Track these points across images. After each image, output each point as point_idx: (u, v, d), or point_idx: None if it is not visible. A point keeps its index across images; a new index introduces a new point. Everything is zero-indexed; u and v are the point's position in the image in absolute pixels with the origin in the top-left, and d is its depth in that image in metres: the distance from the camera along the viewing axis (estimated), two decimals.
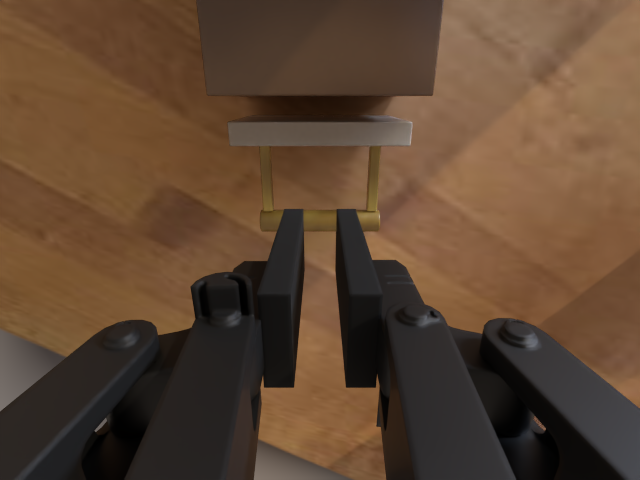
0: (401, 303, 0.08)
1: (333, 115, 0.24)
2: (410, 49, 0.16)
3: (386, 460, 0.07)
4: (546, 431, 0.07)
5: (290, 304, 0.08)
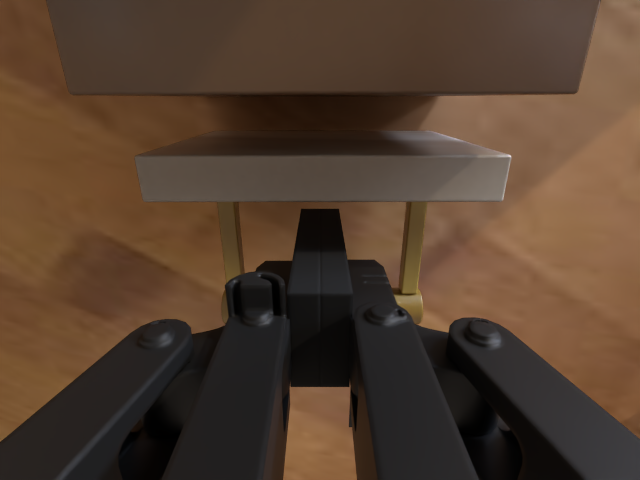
0: (369, 303, 0.08)
1: (343, 131, 0.15)
2: None
3: (356, 461, 0.07)
4: None
5: (319, 303, 0.08)
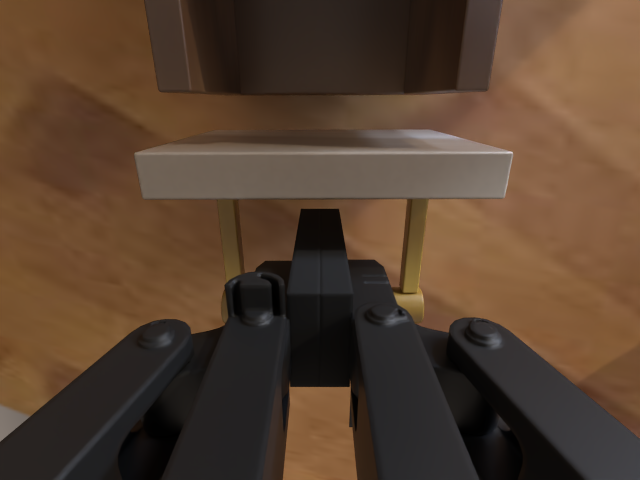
0: (369, 303, 0.08)
1: (343, 130, 0.15)
2: None
3: (357, 461, 0.07)
4: None
5: (319, 303, 0.08)
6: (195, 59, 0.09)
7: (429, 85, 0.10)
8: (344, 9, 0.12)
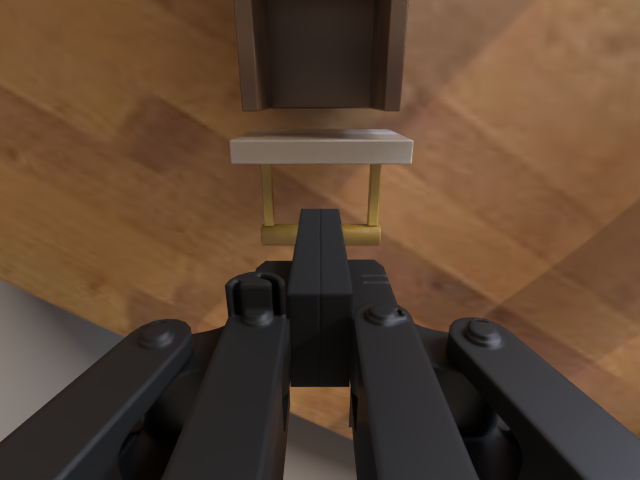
0: (369, 303, 0.08)
1: (334, 129, 0.24)
2: None
3: (356, 461, 0.07)
4: None
5: (319, 303, 0.08)
6: (259, 95, 0.18)
7: (377, 106, 0.19)
8: (333, 59, 0.22)
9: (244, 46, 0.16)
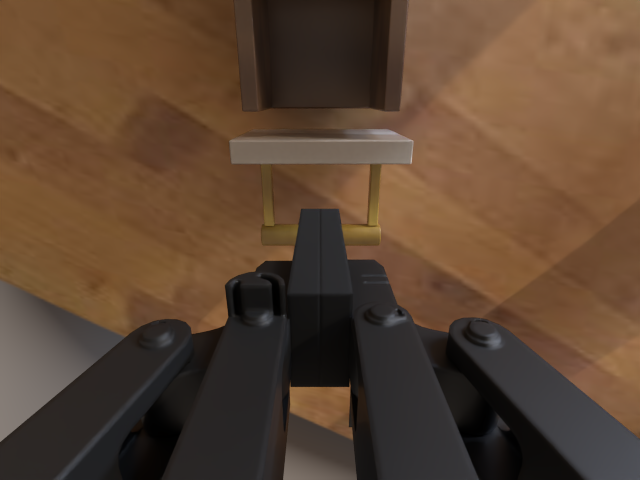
0: (369, 303, 0.08)
1: (334, 129, 0.24)
2: None
3: (356, 461, 0.07)
4: None
5: (319, 303, 0.08)
6: (259, 95, 0.18)
7: (377, 106, 0.19)
8: (333, 59, 0.22)
9: (244, 46, 0.16)
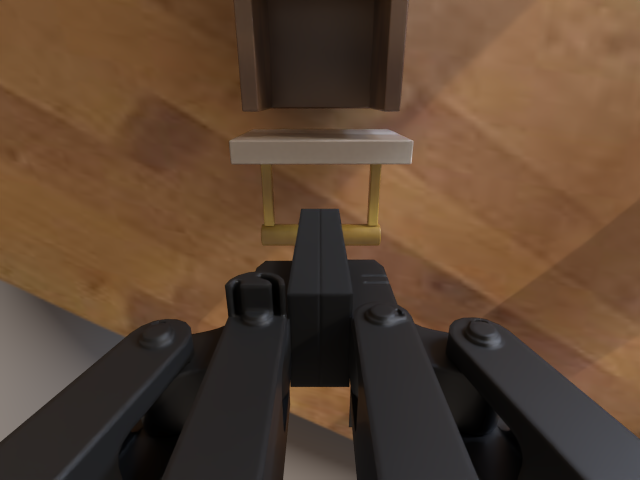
0: (369, 303, 0.08)
1: (334, 129, 0.24)
2: None
3: (356, 461, 0.07)
4: None
5: (319, 303, 0.08)
6: (259, 95, 0.18)
7: (377, 106, 0.19)
8: (333, 59, 0.22)
9: (244, 46, 0.16)
